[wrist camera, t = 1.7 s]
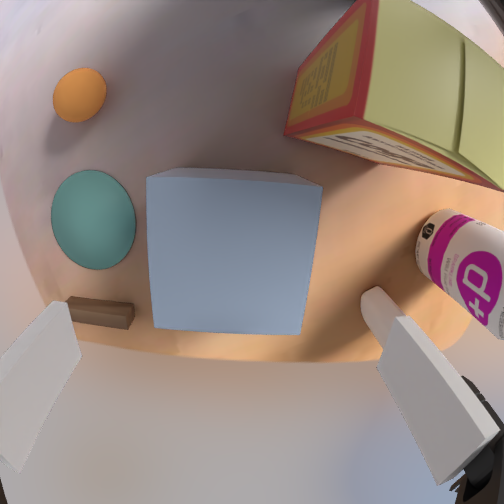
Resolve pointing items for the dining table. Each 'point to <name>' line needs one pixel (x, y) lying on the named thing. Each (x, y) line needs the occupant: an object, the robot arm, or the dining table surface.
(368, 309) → the eye dropper bottle
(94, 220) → the disc
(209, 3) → the dining table surface
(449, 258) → the supplement can
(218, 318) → the light blue block
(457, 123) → the baking soda box
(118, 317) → the block
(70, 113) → the ball
